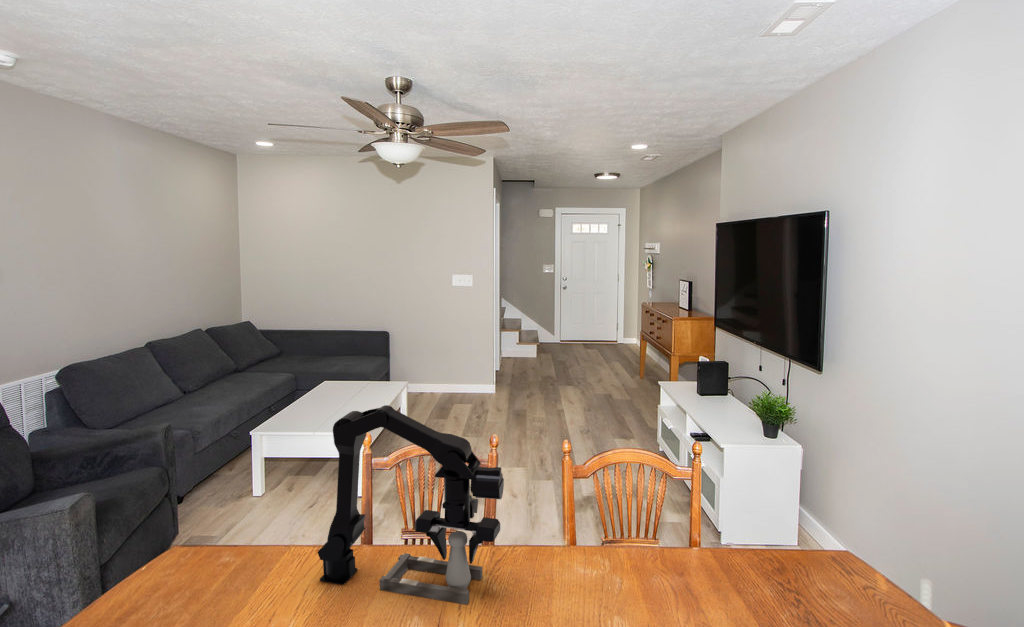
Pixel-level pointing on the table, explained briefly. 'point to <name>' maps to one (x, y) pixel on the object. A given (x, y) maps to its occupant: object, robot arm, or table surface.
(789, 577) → the table surface
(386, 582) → the guide rails
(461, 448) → the robot arm
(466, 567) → the salt shaker
